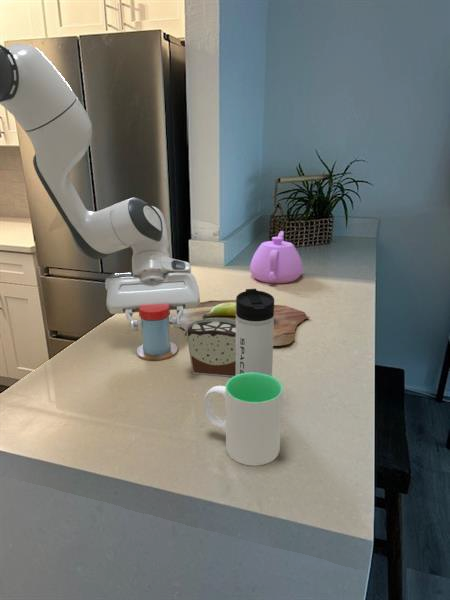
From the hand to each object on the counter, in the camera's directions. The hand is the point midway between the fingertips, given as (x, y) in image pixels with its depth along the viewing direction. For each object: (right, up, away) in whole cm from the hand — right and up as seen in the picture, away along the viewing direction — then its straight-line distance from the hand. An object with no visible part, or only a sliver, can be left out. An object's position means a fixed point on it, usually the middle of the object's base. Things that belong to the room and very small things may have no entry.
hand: (155, 328), depth 92 cm
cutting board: (+18, +1, +19) cm, 26 cm away
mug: (+17, -16, -27) cm, 36 cm away
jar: (0, -5, +2) cm, 5 cm away
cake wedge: (+14, -8, -5) cm, 16 cm away
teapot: (+32, +14, +56) cm, 66 cm away
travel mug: (+20, -12, -16) cm, 28 cm away
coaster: (0, -5, +3) cm, 6 cm away
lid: (0, +4, -1) cm, 4 cm away
